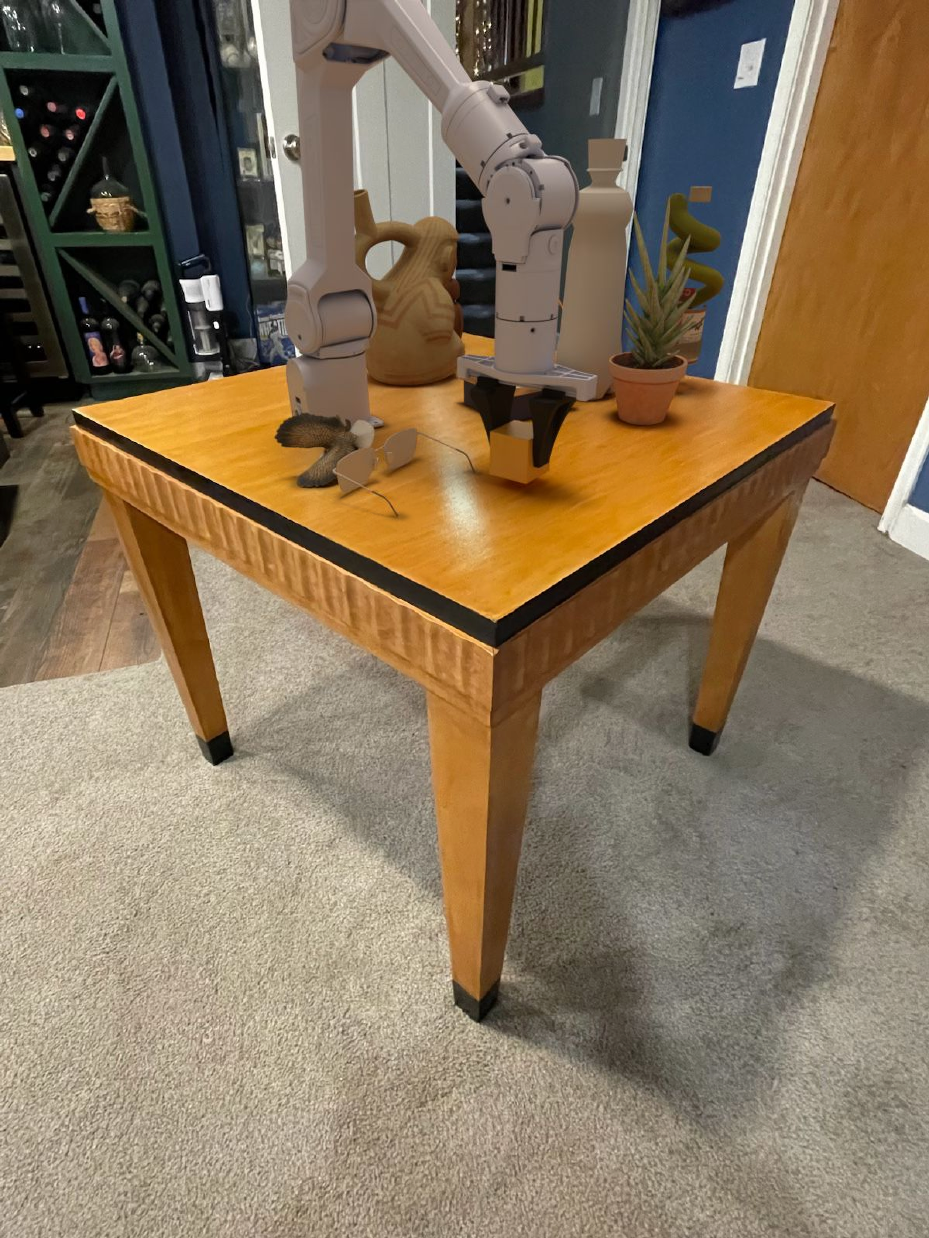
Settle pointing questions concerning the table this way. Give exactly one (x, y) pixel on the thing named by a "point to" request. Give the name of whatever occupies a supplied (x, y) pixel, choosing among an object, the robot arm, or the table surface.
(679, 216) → the snake in a can
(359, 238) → the ceramic vessel
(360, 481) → the eyeglasses
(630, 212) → the bottle
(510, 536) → the table surface
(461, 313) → the wooden figurine
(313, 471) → the eagle figurine
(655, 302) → the potted plant
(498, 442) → the block
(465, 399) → the box
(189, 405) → the table surface
